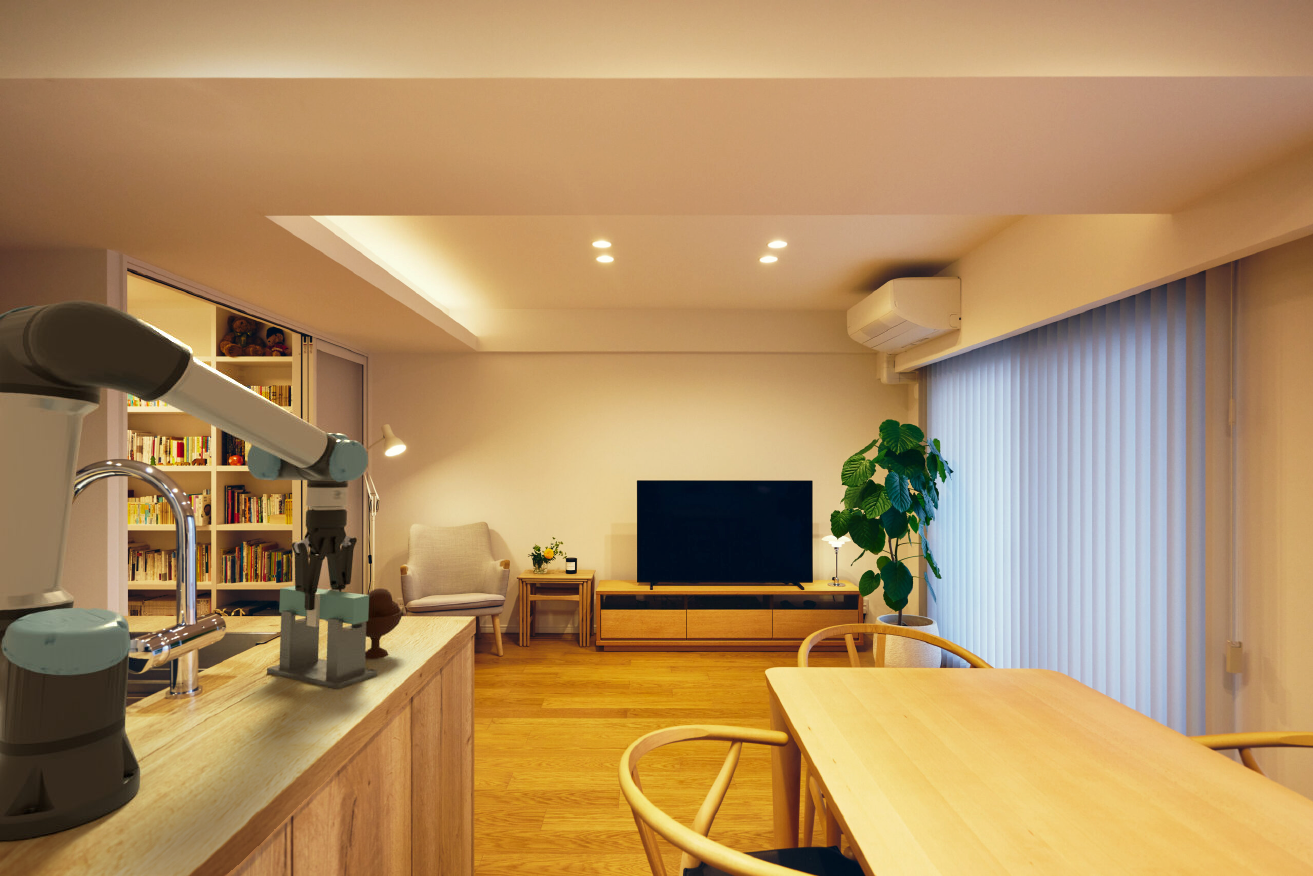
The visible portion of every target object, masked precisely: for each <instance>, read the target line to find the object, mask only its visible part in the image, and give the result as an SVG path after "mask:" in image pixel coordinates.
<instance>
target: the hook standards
mask: <svg viewBox="0 0 1313 876" xmlns="http://www.w3.org/2000/svg"><path fill="white" fill-rule="evenodd" d="M280 614H281V615H280V640H279V641H280V642H279V644H280V645H279V664H276V665H273V666H270V667H267V668H266V673H267V674H270V675H273V676H274V675H275V676H278V677H283V678H287V679H291V680H296V681H300V682H304V683H309V684H313V685H316V686H317V685H318V686H321V687H326V688H330V689H333V690H340V689H343V688H346V687H348V686H353V685H354V684H357V683H360V682H362V681H365V680H369V679H371V678H373V677H376V676H378V670H377V669H376V670H375V669H372V668H367V667H366V659H365V652H366V651H367V650H366V648H367V646H366V645H367V644H366V642H367V637H366V621H365V622H361V623H357V624H350V625H347V626H344V623H343V619H339V618H328V621H327V637H326V638H327V639H326V640H327V641H326V659H322V658H319V648H320V647H319V645H320V640H319V639H320V625H319V626H318V627H313V626H307V617H303V618H298V619H296V615H295V614H296V612H295V611H289V610H284V611H281V613H280ZM343 626H344V627H343Z"/></svg>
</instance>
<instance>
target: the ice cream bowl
mask: <svg viewBox="0 0 1313 876" xmlns="http://www.w3.org/2000/svg"><path fill="white" fill-rule="evenodd" d="M366 595H369V611H368V621H366V638H370V641H371V642H370V648H369V649H367V650H366V651H365V660H377V659H380V658H381V659H382V658H385V657H387V656H388V655H389V653H388V650H386V649H385V648H382V647H380V640H381V638H382V637H383V636H386V635H388V634H389V633H390V632H392V631H393V630H394V629H396V627H397V626H398V625H399V624H400V621H401V620H402V616H403V611H402V609H401V608H400V606H399V604H398V603H397V602H396V601H394V600H393V596H392V593H391V592H390V591H389V590H388V589H385V588H374V589H373V590H371V591H370V592H368V593H367V594H366Z"/></svg>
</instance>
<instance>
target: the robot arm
mask: <svg viewBox="0 0 1313 876" xmlns="http://www.w3.org/2000/svg"><path fill="white" fill-rule="evenodd" d="M193 354H194V353H193V350H192V348H191V347H190V346H189V345H188V344H185V343H184V342H182V341H180V340H179V339H177V338H175V337H173V336H172V335H170V334H168V333H167V332H165V331H163V330H161V329H159V328H158V327H155V326H154V325H152V324H150V323H148V322H146V321H145V320H142V319H140V318H138V317H136V316H134V315H133V314H130V313H128V312H125V311H123V310H121V309H119V308H116V307H114V306H111V305H108V304H104V303H100V302H95V301H90V300H81V299H80V300H67V301H63V302H62V301H61V302H57V303H51V304H45V305H28V306H22V307H18V308H17V307H16V308H14V309H11V310H9V311H5V313H1V314H0V841H12V840H13V841H14V840H22V839H30V838H35V837H40V836H44V835H49V834H53V833H57V832H61V831H64V830H67V829H71V828H73V827H76V826H80V825H83V824H85V823H88V822H91V821H93V820H96V819H98V818H100V817H102V816H104V815H107V814H109V813H111V812H113V811H115V810H116V809H119V808H120V807H121V806H124V804H126V803H127V802H128V801H130V800H131V799H133V798H134V797H135V795H136V794H137V793H138V792H139V790H140V785H141V767H140V765H139V763H138V760H137V757H136V754H135V752H134V750H133V747H132V744H131V743H130V740H129V736H128V734H127V732H126V718H127V717H126V714H127V699H128V698H127V697H128V696H127V695H128V677H129V675H128V674H129V662H130V661H129V658H130V657H129V656H130V650H131V637H130V626H129V622H128V620H127V619H126V618H125V616H124V615H122V614H120V613H118V612H116V611H113V610H110V609H109V610H108V609H106V608H105V609H104V608H94V607H93V608H84V607H74V605H75V597H74V596H73V595H72V594H71V593H69V592H68V591H67V590H65V588H64V587H63V586H62V583H63V573H64V567H65V566H64V565H65V559H66V552H67V543H68V536H69V528H70V523H71V522H70V521H71V514H72V507H73V506H72V505H73V499H74V492H75V491H74V490H75V484H76V475H77V469H78V468H77V467H78V463H79V462H78V460H79V453H80V447H81V445H80V444H81V438H82V429H83V423H84V418H85V417H86V416H87V415H88V414H90V413H92V412H94V411H95V410H98V409H99V407H100V399H101V395H102V394H101V393H102V389H109V390H114V391H118V392H122V393H125V394H128V395H130V396H133V397H135V398H137V399H140V401H141V400H142V401H144V402H146V403H154V402H159V401H161V402H162V403H164V404H167V405H169V406H171V407H173V408H175V409H178V410H179V411H182V412H184V413H185V414H188V415H190V416H192V417H194V418H196V419H197V420H200V421H202V422H204V423H206V424H209V425H211V426H212V427H214V428H217V429H219V430H220V431H222V432H225V433H227V434H229V435H231V436H233V437H235V438H238V439H240V440H241V441H244V442H246V443H248V444H250V445H251V446H250V448H249V450H248V452H247V461H246V465H247V469H248V471H249V473H250V475H252V477H254V478H255V479H257V480H267V481H277V480H278V481H280V480H281V481H306V500H305V501H306V502H305V506H306V507H307V508H309V509H307V510H306V511H305V527H306V533H305V535H304V538H303V539H301V540H300V541H298V542H296V541H294V542H292V543H291V549H292V550H293V553H294V586H295V590H296V591H299V592H302V593H304V594H305V605H304V608H305V610H307V626H313V627H318V626H319V627H320V619H319V616H320V593H316V592H317V588H318V587H319V581H320V578H321V572H322V566H323V561H324V560H325V559H326V560H327V562H326V563H327V569H328V570H327V571H328V576H329V587H330V588H327V589H326V590H332V591H340V592H342V590H345V589H346V586H347V585H351V582H352V572H353V571H352V570H353V560H354V559H353V558H354V550H355V549H354V548H355V547H356V544H357V541H358V539H357V537H353V536H352V537H351V536H348V535H347V532H346V531H345V528H346V526H347V524H348V521H347V519H348V510H347V509H345V507H347V506H348V494H349V493H348V491H349V482H350V481H355V480H357V479H359V478H360V477H362V476H363V475H364V473H365V472H366V470H367V467H368V465H369V455H368V452H367V449H366V447H365V446H364V444H362V443H361V442H359V441H357V440H353V439H351V440H350V439H349V437H348V435H346V434H344V433H334V432H333V433H330V432H329V433H328V432H326V431H323V430H321V429H320V428H318V427H317V426H314V425H313V424H311V423H310V422H307V421H306V420H304V419H303V418H300V417H299V416H297V415H295V414H293V413H292V412H290V411H288V410H287V409H285V408H284V407H281V406H280V405H278V404H276V403H275V402H272V401H270V400H269V399H267V398H265V397H264V396H262V395H260V394H258V393H257V392H256V391H253V390H252V389H250V388H248V387H246V386H244V385H243V384H241V383H239V382H238V381H236V380H234V379H232V378H231V377H229V376H227V375H225V374H223V373H222V372H220V371H218V370H217V369H215V368H213V367H211V366H210V365H208V364H206V363H204V362H203V361H201V360H199V359H197V358H196V357H194V355H193ZM308 550H309V551H308ZM318 589H319V588H318ZM325 622H328V620H325Z"/></svg>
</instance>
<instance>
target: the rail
mask: <svg viewBox="0 0 1313 876" xmlns="http://www.w3.org/2000/svg"><path fill="white" fill-rule="evenodd" d="M279 589H280V591H279V609H278V611H279V613H280V614H281V611H284V610H289V611H295V612H296V614H295V616H297V617H298V616H299V617H303V618H306V617H307V610H305V608H304V605H305V594H304V593H302V592H299V591H296V590H295V585H293V586H287V587H280V588H279ZM316 593H320V616H319V620H323V621H324V620H325V621H326V620H328V618H339V619H343V624H348V625H352V624H357V623H361V622H365V621H368V611H369V595H367V594H361V593H354V592H346V591H341V592H340V591H332V590H327V589H325V588H317V592H316Z"/></svg>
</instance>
